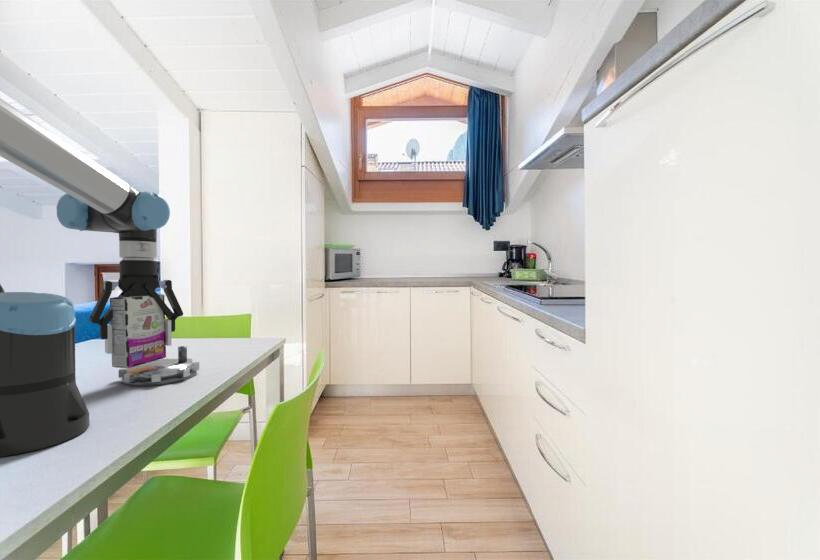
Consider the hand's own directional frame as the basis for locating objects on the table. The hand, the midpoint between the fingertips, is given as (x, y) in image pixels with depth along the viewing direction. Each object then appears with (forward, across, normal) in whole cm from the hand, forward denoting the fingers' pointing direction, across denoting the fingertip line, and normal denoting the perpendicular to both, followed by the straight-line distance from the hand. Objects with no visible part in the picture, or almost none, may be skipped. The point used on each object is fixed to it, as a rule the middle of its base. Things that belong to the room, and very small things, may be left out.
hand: (139, 348), depth 97 cm
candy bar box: (+4, 0, 0) cm, 4 cm away
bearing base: (+8, +5, 0) cm, 9 cm away
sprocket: (+8, +5, 0) cm, 9 cm away
